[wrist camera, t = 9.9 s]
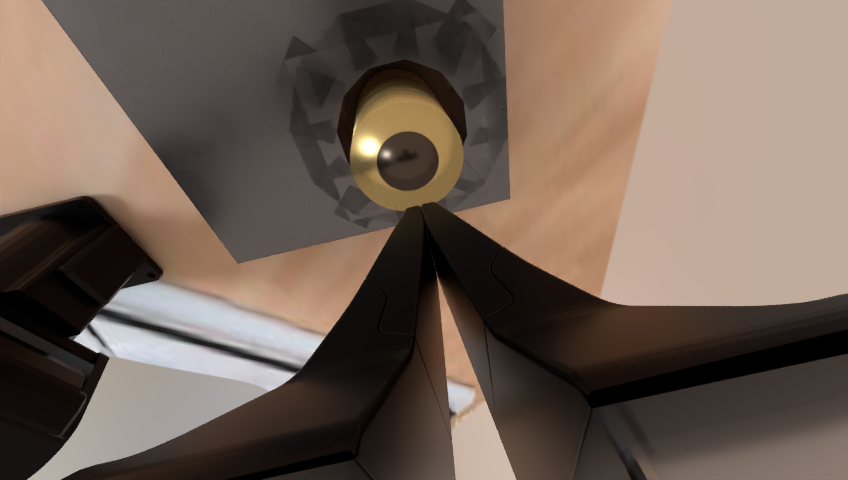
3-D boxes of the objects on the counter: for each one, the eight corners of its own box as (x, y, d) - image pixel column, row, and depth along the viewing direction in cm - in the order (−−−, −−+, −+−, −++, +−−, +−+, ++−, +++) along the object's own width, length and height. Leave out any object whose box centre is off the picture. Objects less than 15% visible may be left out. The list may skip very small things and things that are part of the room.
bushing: (370, 158, 19) (369, 222, 14) (345, 80, 17) (332, 119, 11) (441, 141, 19) (469, 198, 14) (428, 59, 17) (456, 89, 11)
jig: (255, 229, 21) (238, 263, 18) (28, -124, 12) (-81, -164, 9) (492, 172, 21) (510, 199, 18) (463, -237, 11) (492, -316, 9)
